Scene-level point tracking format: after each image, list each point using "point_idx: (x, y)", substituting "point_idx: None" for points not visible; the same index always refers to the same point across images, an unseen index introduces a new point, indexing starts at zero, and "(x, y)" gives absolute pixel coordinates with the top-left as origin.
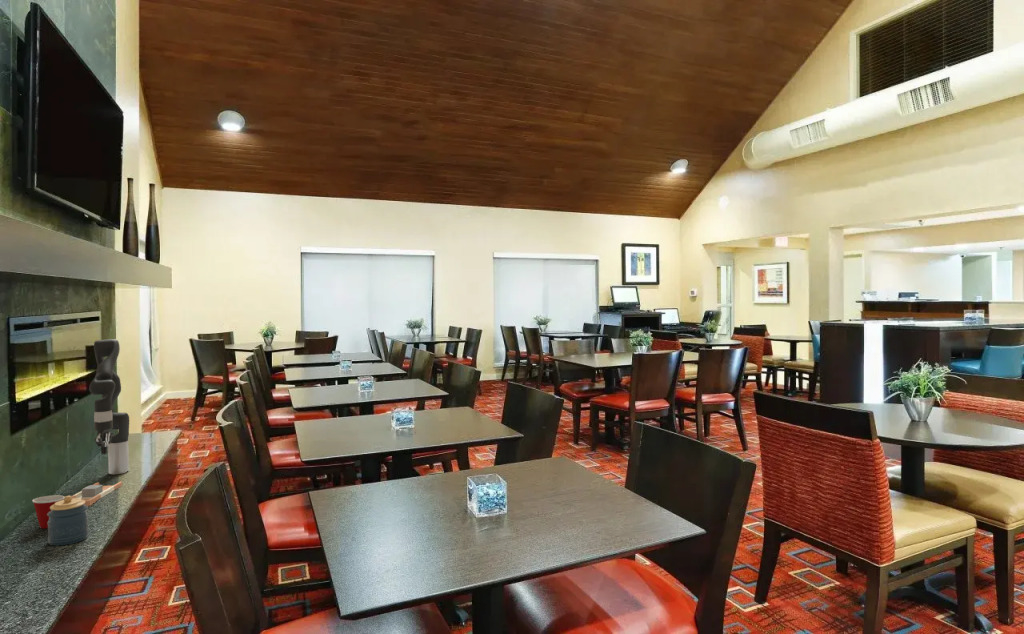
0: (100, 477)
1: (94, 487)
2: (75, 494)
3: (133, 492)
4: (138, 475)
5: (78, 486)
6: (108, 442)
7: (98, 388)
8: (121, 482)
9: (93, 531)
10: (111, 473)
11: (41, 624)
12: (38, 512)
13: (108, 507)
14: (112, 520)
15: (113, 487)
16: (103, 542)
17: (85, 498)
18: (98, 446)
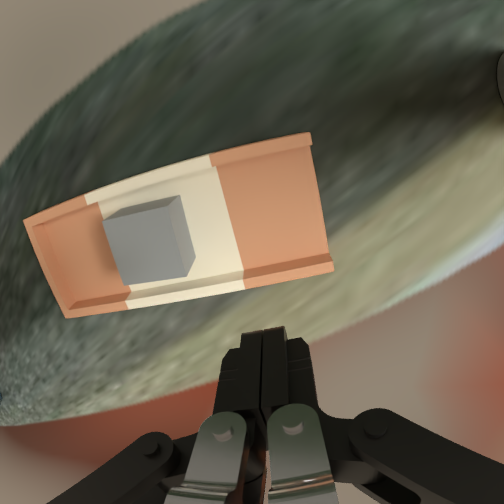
0: (458, 41)
1: (139, 267)
2: (94, 194)
3: None
4: (487, 212)
5: (310, 17)
6: (350, 482)
7: None
8: (322, 272)
9: (12, 400)
10: (499, 72)
11: None
12: None
13: (90, 368)
14: (50, 410)
15: (239, 288)
16: (10, 425)
17: None
18: (143, 441)
